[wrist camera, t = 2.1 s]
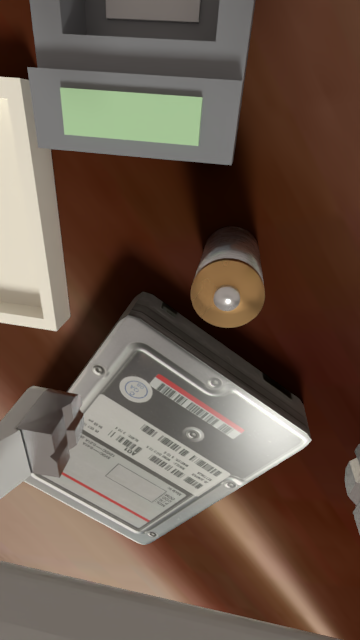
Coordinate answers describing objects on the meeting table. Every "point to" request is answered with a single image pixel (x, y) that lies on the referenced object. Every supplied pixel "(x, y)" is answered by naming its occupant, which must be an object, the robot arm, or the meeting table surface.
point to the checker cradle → (140, 76)
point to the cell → (229, 279)
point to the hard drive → (170, 425)
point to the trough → (28, 219)
